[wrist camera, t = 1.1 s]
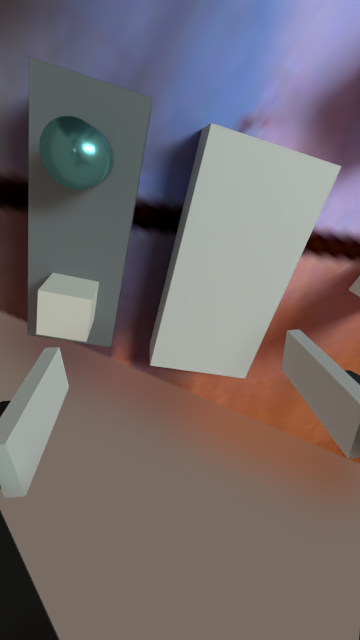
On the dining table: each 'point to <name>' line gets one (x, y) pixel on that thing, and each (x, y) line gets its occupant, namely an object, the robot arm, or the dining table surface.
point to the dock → (235, 250)
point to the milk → (355, 287)
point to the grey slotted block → (83, 191)
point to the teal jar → (75, 153)
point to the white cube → (66, 307)
